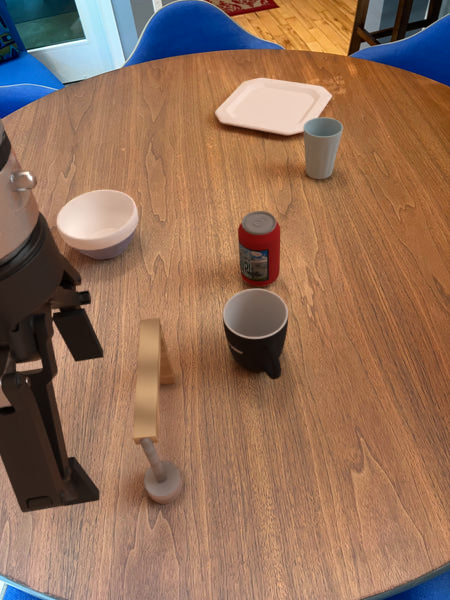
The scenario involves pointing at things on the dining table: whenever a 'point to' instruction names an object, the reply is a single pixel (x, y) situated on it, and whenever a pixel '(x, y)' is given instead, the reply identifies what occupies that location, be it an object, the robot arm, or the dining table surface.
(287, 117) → the plate
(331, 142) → the cup
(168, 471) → the ladle
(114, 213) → the bowl
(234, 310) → the mug
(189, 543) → the dining table surface
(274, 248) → the beverage can
